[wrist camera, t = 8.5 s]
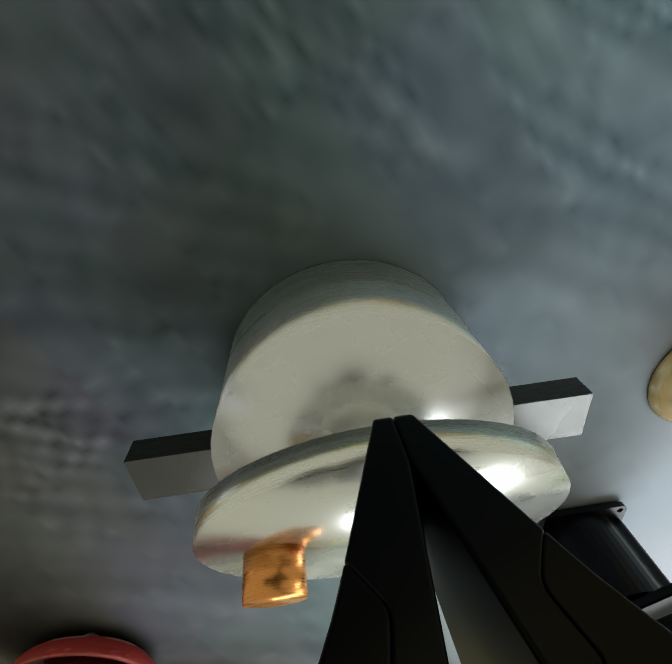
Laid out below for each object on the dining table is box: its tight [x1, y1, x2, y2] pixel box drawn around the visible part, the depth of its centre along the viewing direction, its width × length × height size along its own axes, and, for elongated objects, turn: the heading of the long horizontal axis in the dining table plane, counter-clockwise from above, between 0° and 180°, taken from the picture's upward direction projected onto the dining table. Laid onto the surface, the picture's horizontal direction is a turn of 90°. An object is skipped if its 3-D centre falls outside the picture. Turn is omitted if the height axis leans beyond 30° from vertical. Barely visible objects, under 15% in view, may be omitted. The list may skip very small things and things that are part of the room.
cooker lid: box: [193, 419, 571, 608], centre depth 15 cm, size 13×13×2 cm
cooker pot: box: [124, 260, 593, 500], centre depth 20 cm, size 20×14×6 cm
